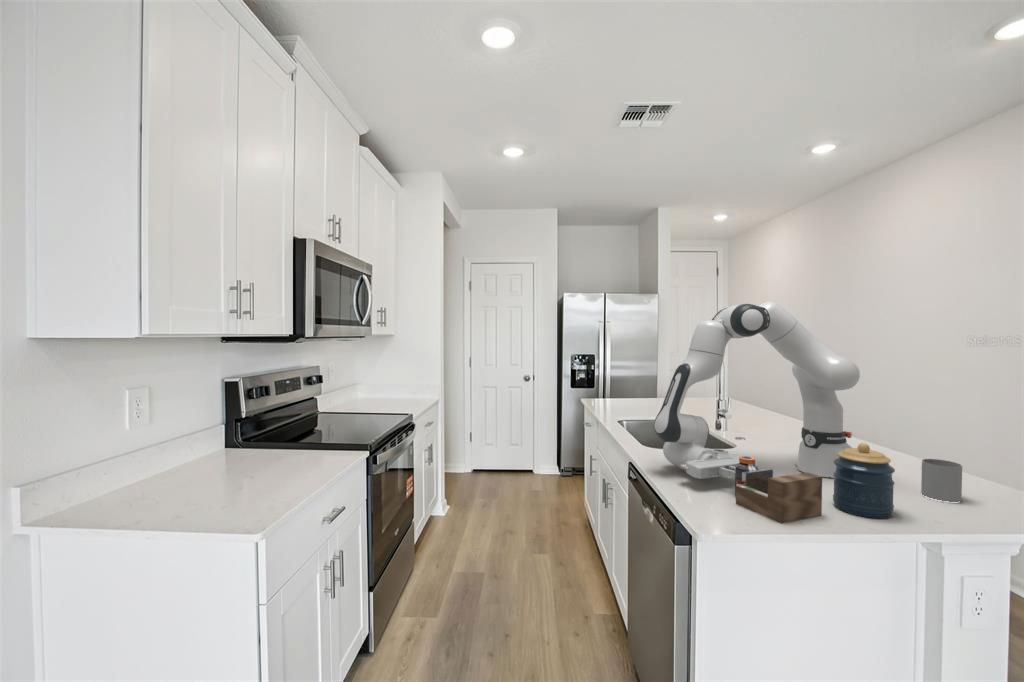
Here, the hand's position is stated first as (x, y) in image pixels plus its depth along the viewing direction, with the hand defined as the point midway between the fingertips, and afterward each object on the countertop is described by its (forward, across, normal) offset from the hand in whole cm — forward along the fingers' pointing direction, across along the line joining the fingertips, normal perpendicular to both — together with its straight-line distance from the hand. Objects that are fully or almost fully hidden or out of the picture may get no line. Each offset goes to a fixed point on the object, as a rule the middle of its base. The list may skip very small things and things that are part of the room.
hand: (738, 474), depth 137 cm
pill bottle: (+3, 0, +6) cm, 6 cm away
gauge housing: (+12, 0, +6) cm, 13 cm away
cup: (+22, +51, +6) cm, 56 cm away
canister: (+21, +21, +6) cm, 30 cm away
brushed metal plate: (+7, -1, +5) cm, 8 cm away
